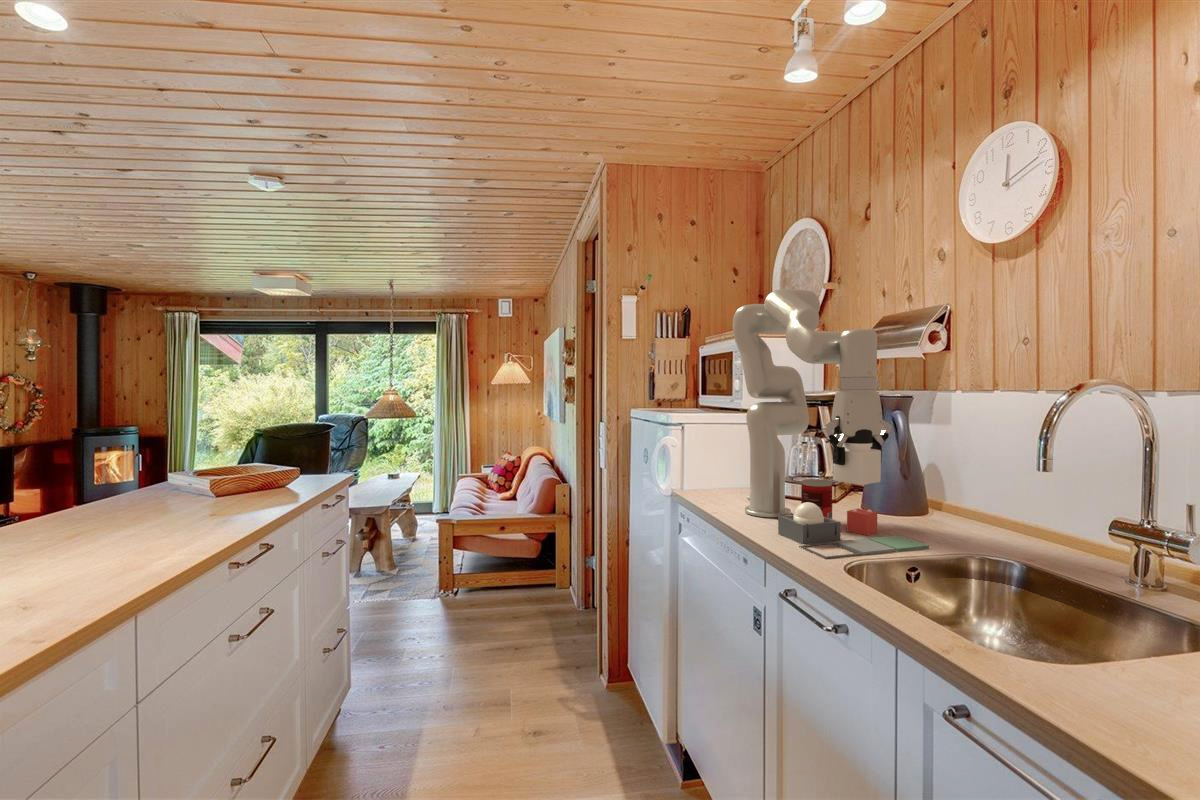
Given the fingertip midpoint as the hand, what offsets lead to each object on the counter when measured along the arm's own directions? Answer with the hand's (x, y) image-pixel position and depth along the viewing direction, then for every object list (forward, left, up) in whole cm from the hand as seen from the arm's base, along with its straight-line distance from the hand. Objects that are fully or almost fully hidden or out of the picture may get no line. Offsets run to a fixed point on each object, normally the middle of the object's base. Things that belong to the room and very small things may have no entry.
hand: (857, 463), depth 127 cm
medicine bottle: (0, 0, -4) cm, 4 cm away
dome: (-11, -5, -17) cm, 21 cm away
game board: (0, +2, -19) cm, 19 cm away
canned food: (-23, +6, -19) cm, 30 cm away
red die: (-12, +11, -19) cm, 25 cm away
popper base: (-11, -5, -19) cm, 22 cm away
